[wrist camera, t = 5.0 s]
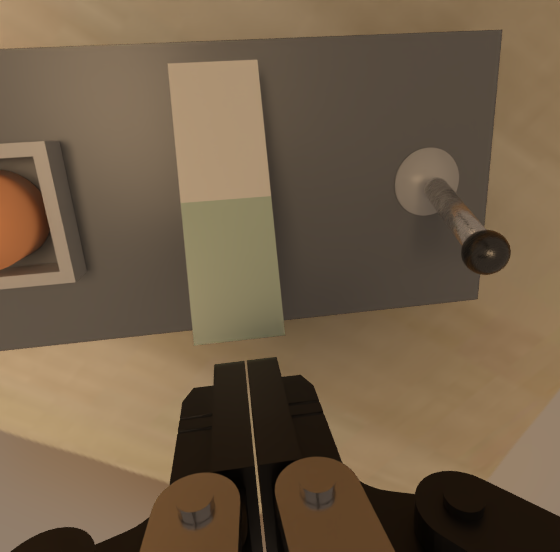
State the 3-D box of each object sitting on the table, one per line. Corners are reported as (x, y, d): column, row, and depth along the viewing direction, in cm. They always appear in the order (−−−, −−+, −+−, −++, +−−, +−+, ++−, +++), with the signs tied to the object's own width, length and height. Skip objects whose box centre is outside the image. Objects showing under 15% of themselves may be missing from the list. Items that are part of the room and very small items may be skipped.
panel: (-117, 64, 17) (-202, 45, 14) (475, 40, 20) (528, 19, 16) (-31, 337, 21) (-80, 376, 17) (456, 286, 23) (496, 311, 20)
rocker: (171, 77, 16) (167, 63, 15) (256, 73, 16) (257, 59, 15) (196, 342, 16) (194, 345, 15) (282, 332, 16) (285, 335, 15)
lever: (418, 168, 18) (482, 251, 14) (453, 165, 18) (527, 246, 14) (410, 200, 19) (467, 285, 15) (443, 197, 19) (509, 281, 15)
